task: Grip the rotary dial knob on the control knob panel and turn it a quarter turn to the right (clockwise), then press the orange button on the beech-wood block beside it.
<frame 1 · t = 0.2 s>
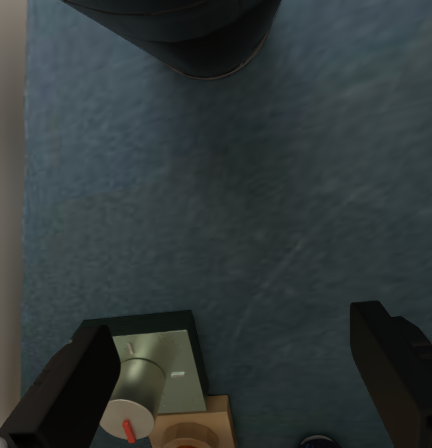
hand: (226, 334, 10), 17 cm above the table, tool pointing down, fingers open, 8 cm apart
beverage can: (317, 444, 38), on the table
control knob panel: (148, 354, 33), on the table
button block: (193, 422, 37), on the table
rotary dial knob: (133, 399, 28), point 5 cm above the table, hinge at 0.0°
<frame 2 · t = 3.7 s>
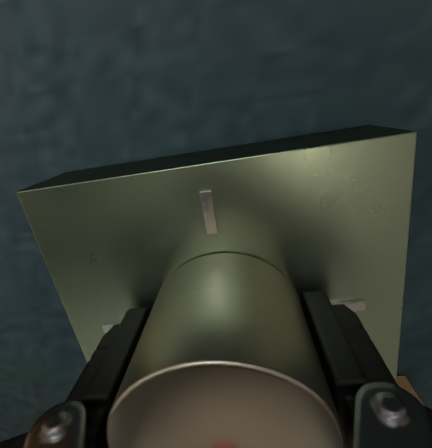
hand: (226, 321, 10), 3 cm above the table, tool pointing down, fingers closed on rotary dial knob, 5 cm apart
control knob panel: (229, 272, 13), on the table
rotary dial knob: (225, 372, 8), point 5 cm above the table, hinge at 0.4°, touching gripper
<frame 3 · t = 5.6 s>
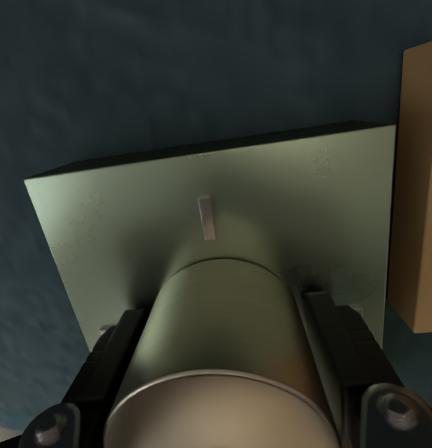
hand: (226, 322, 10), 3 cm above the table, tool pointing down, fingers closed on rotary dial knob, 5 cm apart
control knob panel: (227, 277, 13), on the table
rotary dial knob: (222, 379, 8), point 5 cm above the table, hinge at -91.3°, touching gripper
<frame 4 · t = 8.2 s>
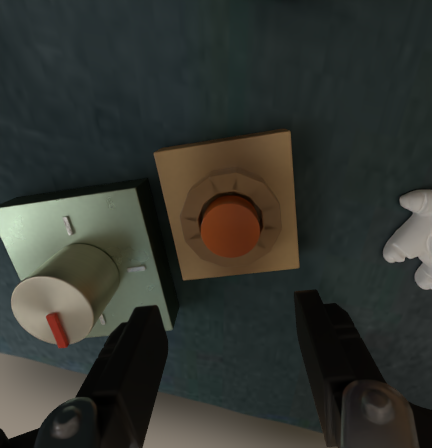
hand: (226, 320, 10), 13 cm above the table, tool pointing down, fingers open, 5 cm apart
control knob panel: (102, 255, 25), on the table
button: (230, 226, 19), point 5 cm above the table, slide at 0.2 cm
button block: (231, 204, 23), on the table
rotary dial knob: (69, 292, 20), point 5 cm above the table, hinge at -91.2°
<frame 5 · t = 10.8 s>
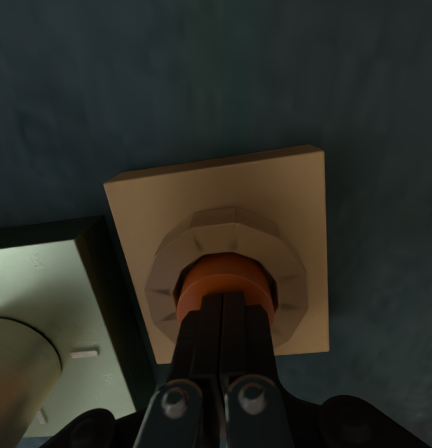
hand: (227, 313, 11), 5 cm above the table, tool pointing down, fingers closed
control knob panel: (46, 319, 18), on the table
button: (225, 301, 12), point 4 cm above the table, slide at -0.2 cm, touching gripper
button block: (227, 253, 16), on the table
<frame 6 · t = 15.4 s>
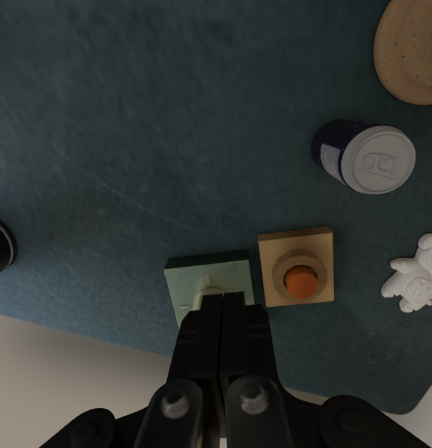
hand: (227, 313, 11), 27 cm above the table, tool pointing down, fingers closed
beverage can: (333, 145, 34), on the table
control knob panel: (214, 290, 42), on the table
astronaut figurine: (421, 269, 39), on the table
button: (301, 282, 36), point 5 cm above the table, slide at 0.2 cm
button block: (294, 263, 40), on the table
rotary dial knob: (211, 315, 37), point 5 cm above the table, hinge at -91.2°
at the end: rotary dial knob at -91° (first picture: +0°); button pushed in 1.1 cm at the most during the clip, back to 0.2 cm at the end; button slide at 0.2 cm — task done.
